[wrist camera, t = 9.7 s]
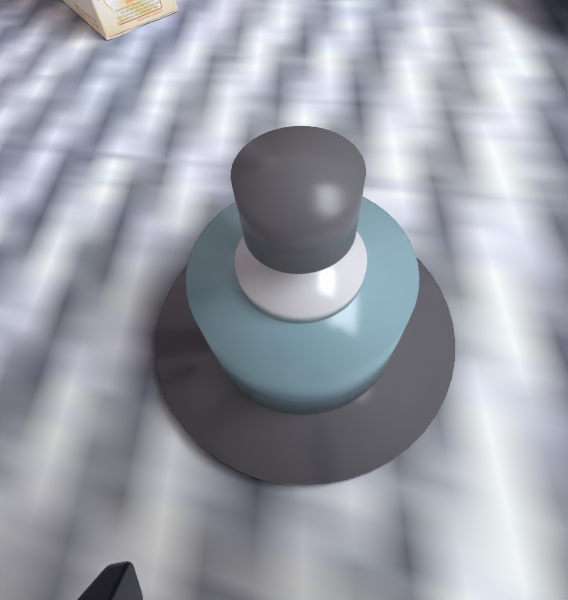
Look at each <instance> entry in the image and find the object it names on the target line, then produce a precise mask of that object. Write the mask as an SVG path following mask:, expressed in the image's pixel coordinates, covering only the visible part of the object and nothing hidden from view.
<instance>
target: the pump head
mask: <svg viewBox="0 0 568 600" xmlns="http://www.w3.org/2000/svg"><path fill="white" fill-rule="evenodd" d="M365 176H366V167H365V162H364V160H363V157H362V155H361V154H360V152H359V150H358V149H357V148H356V147H355V146H354V145H353V144H352V143H351V142H350V141H349V140H347V139H346V138H344V137H343V136H341V135H339V134H337V133H335V132H332V131H330V130H326V129H323V128H318V127H310V126H291V127H284V128H280V129H276V130H272V131H269V132H267V133H264V134H262V135H260V136H258V137H257V138H255V139H253V140H252V141H251V142H249V143H248V144H247V145H246V146H245V147H244V148H242V150H241V151H240V152H239V153H238V155H237V156H236V158H235V160H234V162H233V165H232V169H231V182H232V187H233V192H234V196H235V201H236V205H237V210H238V214H239V219H240V223H241V228H242V232H243V237H244V240H245V243H246V246H247V248H248V250H249V251H250V253H251V254H252V255H253V256H254V257H255V258H256V259H257V260H258V261H259V262H261V263H262V264H263V265H265V266H267V267H269V268H271V269H274V270H276V271H280V272H283V273H289V274H308V273H313V272H317V271H321V270H324V269H326V268H328V267H330V266H332V265H334V264H336V263H337V262H338V261H340V260H341V259H342V258H343V257H344V256H345V255H346V254H347V253H348V252H349V250H350V249H351V247H352V245H353V243H354V240H355V237H356V232H357V225H358V219H359V213H360V207H361V201H362V194H363V188H364V182H365Z"/></svg>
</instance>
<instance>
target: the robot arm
mask: <svg viewBox="0 0 568 600" xmlns="http://www.w3.org/2000/svg"><path fill="white" fill-rule="evenodd" d="M77 600H143V597H142V592H141V588H140V585H139V582H138V579H137V575H136V572H135V569H134V566H133V564H132V563H131V562H128V561H126V562H120V563H115V564H111V565H108V566H107V567H106V568H105V569H104V570H103V571H102V572H101V573H100V574H99V576H98V577H97V578H96V579H95V580H94V581H93V582H92V584H91V585H90V586H89V587H88V588H87V589H86V590H85V591H84V593H83V594H82V595H81V596H80V597H79V598H78V599H77Z"/></svg>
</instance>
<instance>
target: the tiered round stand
mask: <svg viewBox="0 0 568 600" xmlns="http://www.w3.org/2000/svg"><path fill="white" fill-rule="evenodd" d="M156 360H157V366H158V372H159V378H160V381H161V384H162V387H163V390H164V394H165V396H166V398H167V400H168V402H169V404H170V406H171V408H172V411H173V413H174V414H175V415H176V417H177V418H178V420H179V421H180V423H181V424H182V426H183V427H184V429H185V430H186V431H187V432H188V433H189V434H190V435H191V436H192V437H193V438H194V439H195V440H196V442H197V443H198V444H199V445H201V446H202V447H203V448H204V449H206V450H207V451H208V452H209V453H211V454H212V455H213V456H214V457H216V458H217V459H218V460H220V461H222V462H223V463H225V464H227V465H228V466H230V467H232V468H234V469H235V470H237V471H239V472H242V473H244V474H247V475H249V476H252V477H254V478H257V479H260V480H264V481H268V482H273V483H277V484H282V485H293V486H320V485H329V484H334V483H339V482H344V481H348V480H351V479H354V478H357V477H360V476H362V475H365V474H368V473H370V472H372V471H374V470H376V469H378V468H380V467H381V466H383V465H385V464H387V463H389V462H390V461H391V460H393V459H394V458H395V457H397V456H398V455H399V454H401V453H402V452H404V451H405V450H406V449H407V448H409V447H410V446H411V445H412V444H413V443H414V442H415V441H416V440H417V439H418V438H419V437H420V436H421V435H422V434H423V433H424V431H425V430H426V429H427V427H428V426H429V424H430V423H431V422H432V420H433V419H434V418H435V416H436V415H437V413H438V411H439V409H440V407H441V405H442V403H443V401H444V399H445V397H446V394H447V391H448V388H449V385H450V382H451V379H452V374H453V368H454V361H455V337H454V329H453V322H452V319H451V315H450V312H449V308H448V305H447V303H446V301H445V298H444V296H443V294H442V292H441V289H440V288H439V286H438V285H437V283H436V281H435V280H434V278H433V276H432V275H431V274H430V272H429V271H428V270H427V269H426V267H425V266H424V265H423V264H422V262H421V261H420V260H419V259H418V258H417V257H416V255H415V252H414V249H413V247H412V245H411V242H410V240H409V239H408V237H407V236H406V234H405V232H404V231H403V229H402V228H401V227H400V226H399V224H398V223H397V222H396V221H395V220H394V219H393V218H392V217H391V216H390V215H389V214H388V213H387V212H386V211H384V210H383V209H382V208H380V207H379V206H378V205H376V204H375V203H373V202H371V201H370V200H368V199H366V198H365V197H362V201H361V207H360V213H359V219H358V225H357V232H356V237H355V240H354V243H353V245H352V247H351V249H350V250H349V252H348V253H347V254H346V255H345V256H344V257H343V258H342V259H341V260H340V261H338V262H337V263H336V264H334V265H332V266H330V267H328V268H326V269H324V270H321V271H317V272H313V273H308V274H289V273H283V272H280V271H276V270H274V269H271V268H269V267H267V266H265V265H263V264H262V263H261V262H259V261H258V260H257V259H256V258H255V257H254V256H253V255H252V254H251V253H250V251H249V250H248V248H247V246H246V243H245V240H244V237H243V232H242V228H241V223H240V219H239V214H238V210H237V205H236V202H235V203H233V204H231V205H230V206H228V207H227V208H226V209H224V210H223V211H222V212H221V213H219V214H218V215H217V216H216V217H215V218H214V219H213V220H212V221H211V222H210V223H209V224H208V225H207V227H206V228H205V229H204V231H203V232H202V233H201V235H200V236H199V238H198V240H197V242H196V243H195V245H194V248H193V250H192V252H191V255H190V258H189V262H188V265H187V266H186V267H185V269H184V270H183V271H182V273H181V274H180V275H179V277H178V278H177V280H176V281H175V283H174V285H173V287H172V288H171V290H170V292H169V294H168V296H167V299H166V301H165V304H164V306H163V309H162V313H161V316H160V320H159V324H158V331H157V339H156Z"/></svg>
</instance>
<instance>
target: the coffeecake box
mask: <svg viewBox="0 0 568 600" xmlns="http://www.w3.org/2000/svg"><path fill="white" fill-rule="evenodd" d="M63 1H64V2H65V3H66V4H67V5H68V6H69V7H70V8H72V9H73V10H74V11H75V12H76V13H77V14H78V15H79V16H81V17H82V18H83V19H84V20H85V21H86V22H87V23H88V24H89V25H91V26H92V27H93V28H94V29H95V30H96V31H97V32H98V33H99V34H101V35H102V36H103V37H104V38H105V39H106V40H110V39H113V38H116V37H118V36H120V35H123V34H125V33H127V32H130V31H132V30H134V29H136V28H138V27H140V26H142V25H144V24H146V23H149V22H152V21H155V20H158V19H160V18H162V17H165V16H168V15H170V14H172V13H175V12H177V11H178V9H177V5H176V1H175V0H63Z"/></svg>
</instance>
